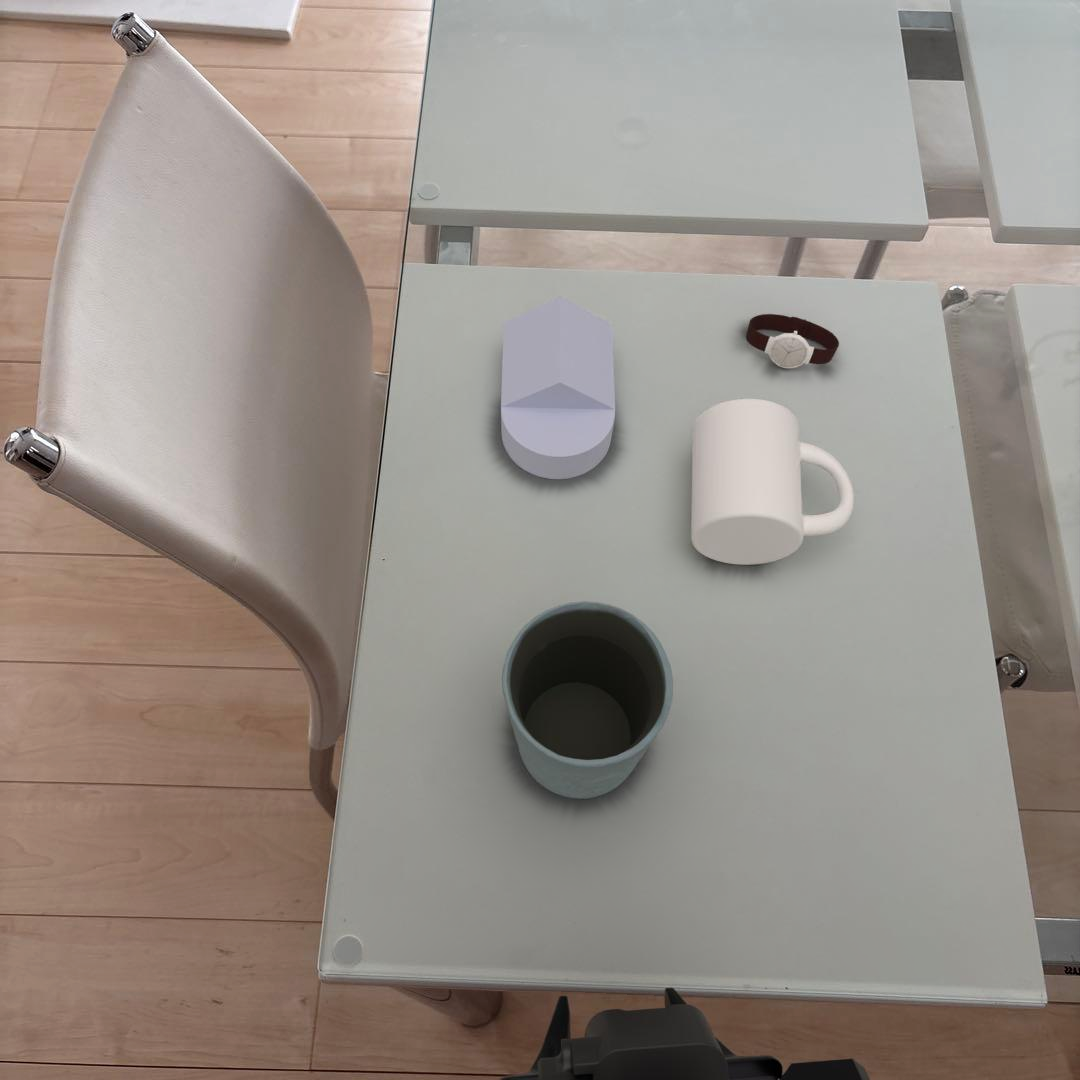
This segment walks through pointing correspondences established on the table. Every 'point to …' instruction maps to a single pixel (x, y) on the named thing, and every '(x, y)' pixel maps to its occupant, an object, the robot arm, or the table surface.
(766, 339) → the watch
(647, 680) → the teal cup
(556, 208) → the table surface
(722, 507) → the mug
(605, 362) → the wedge on round base
